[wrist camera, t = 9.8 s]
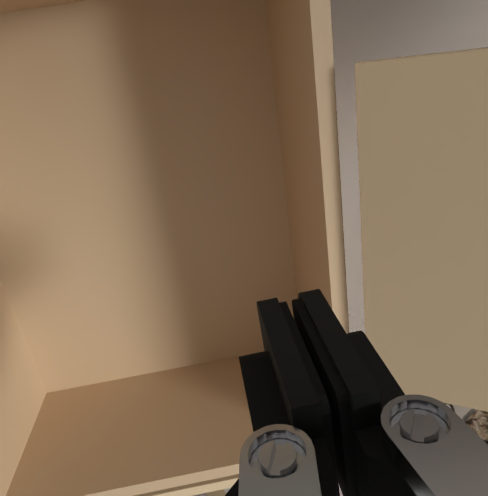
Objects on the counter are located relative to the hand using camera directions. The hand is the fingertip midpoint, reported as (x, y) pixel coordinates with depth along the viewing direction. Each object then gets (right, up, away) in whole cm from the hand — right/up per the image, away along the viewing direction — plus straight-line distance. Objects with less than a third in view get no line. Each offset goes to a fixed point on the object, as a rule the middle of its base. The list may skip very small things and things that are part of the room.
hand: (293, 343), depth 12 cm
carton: (-7, +4, +11) cm, 14 cm away
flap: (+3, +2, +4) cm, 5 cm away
